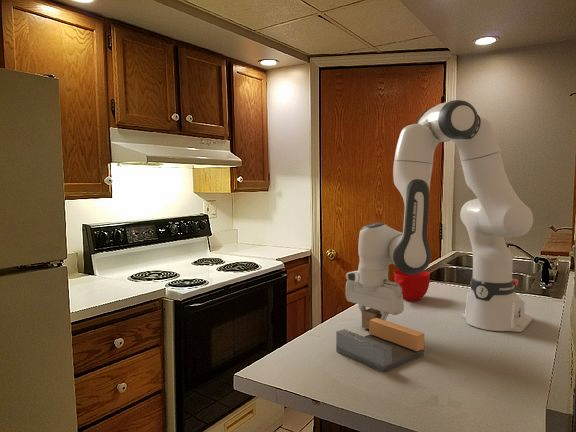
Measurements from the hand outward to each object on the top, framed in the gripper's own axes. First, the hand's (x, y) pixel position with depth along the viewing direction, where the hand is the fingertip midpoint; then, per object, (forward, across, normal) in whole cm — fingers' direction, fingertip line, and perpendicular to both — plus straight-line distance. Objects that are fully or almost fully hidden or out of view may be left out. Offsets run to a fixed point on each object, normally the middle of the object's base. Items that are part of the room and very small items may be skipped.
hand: (373, 321), depth 131 cm
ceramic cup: (+3, +12, -34) cm, 36 cm away
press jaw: (+1, -13, +6) cm, 14 cm away
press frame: (+2, -13, +12) cm, 18 cm away
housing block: (+2, 0, 0) cm, 2 cm away
